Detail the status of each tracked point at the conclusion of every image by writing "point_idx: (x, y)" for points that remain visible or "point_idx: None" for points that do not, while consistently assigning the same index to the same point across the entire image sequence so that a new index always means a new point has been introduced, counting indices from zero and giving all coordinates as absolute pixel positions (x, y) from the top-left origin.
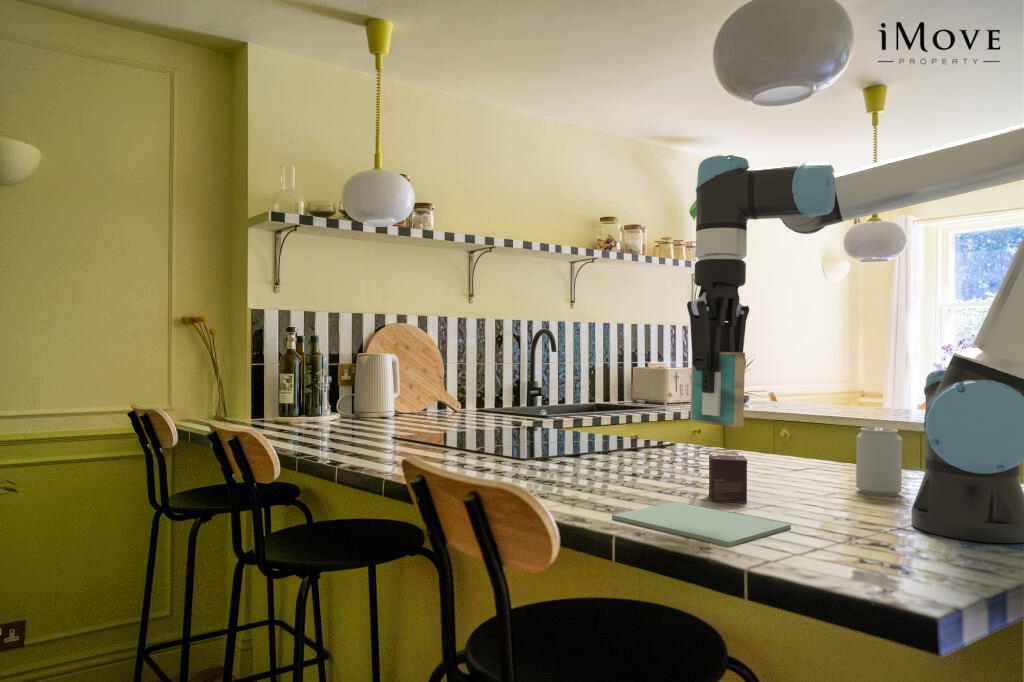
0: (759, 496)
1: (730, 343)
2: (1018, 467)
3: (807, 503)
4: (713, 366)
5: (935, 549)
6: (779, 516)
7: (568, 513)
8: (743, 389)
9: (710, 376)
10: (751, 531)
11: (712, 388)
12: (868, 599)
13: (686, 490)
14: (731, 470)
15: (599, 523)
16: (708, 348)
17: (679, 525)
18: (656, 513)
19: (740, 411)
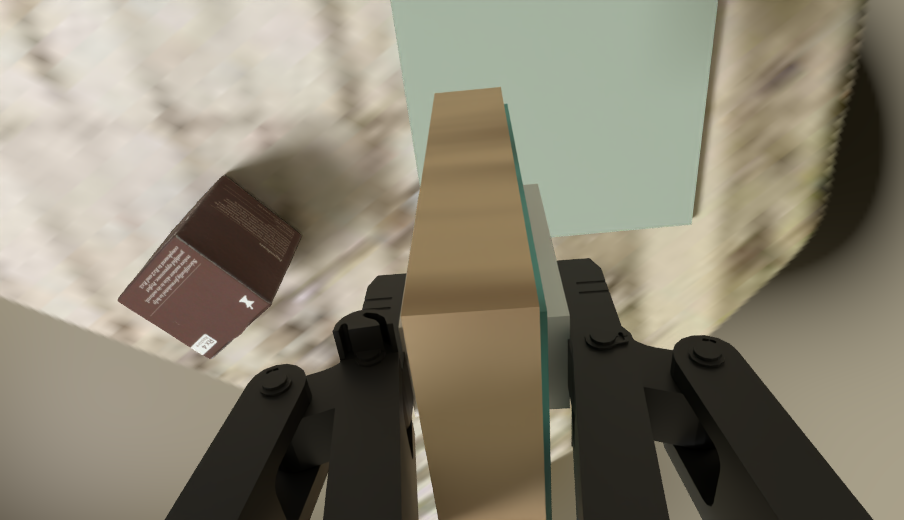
0: (118, 214)
1: (392, 517)
2: None
3: (37, 82)
4: (631, 344)
5: None
6: (265, 8)
7: (715, 303)
8: (432, 163)
9: (611, 317)
10: None
11: (574, 273)
12: None
13: (262, 345)
14: (232, 246)
15: (750, 202)
16: (763, 447)
17: (662, 53)
18: (589, 181)
19: (460, 115)
